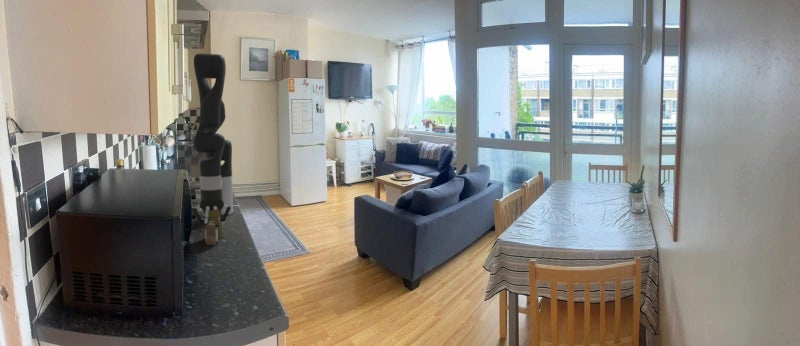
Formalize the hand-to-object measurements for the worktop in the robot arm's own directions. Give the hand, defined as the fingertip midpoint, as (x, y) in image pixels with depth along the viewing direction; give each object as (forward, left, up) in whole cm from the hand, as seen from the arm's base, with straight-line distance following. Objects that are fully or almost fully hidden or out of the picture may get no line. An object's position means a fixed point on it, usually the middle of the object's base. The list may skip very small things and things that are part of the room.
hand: (213, 232), depth 172 cm
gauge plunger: (+6, 0, -2) cm, 6 cm away
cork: (0, +1, -2) cm, 2 cm away
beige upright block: (+7, 0, -2) cm, 7 cm away
